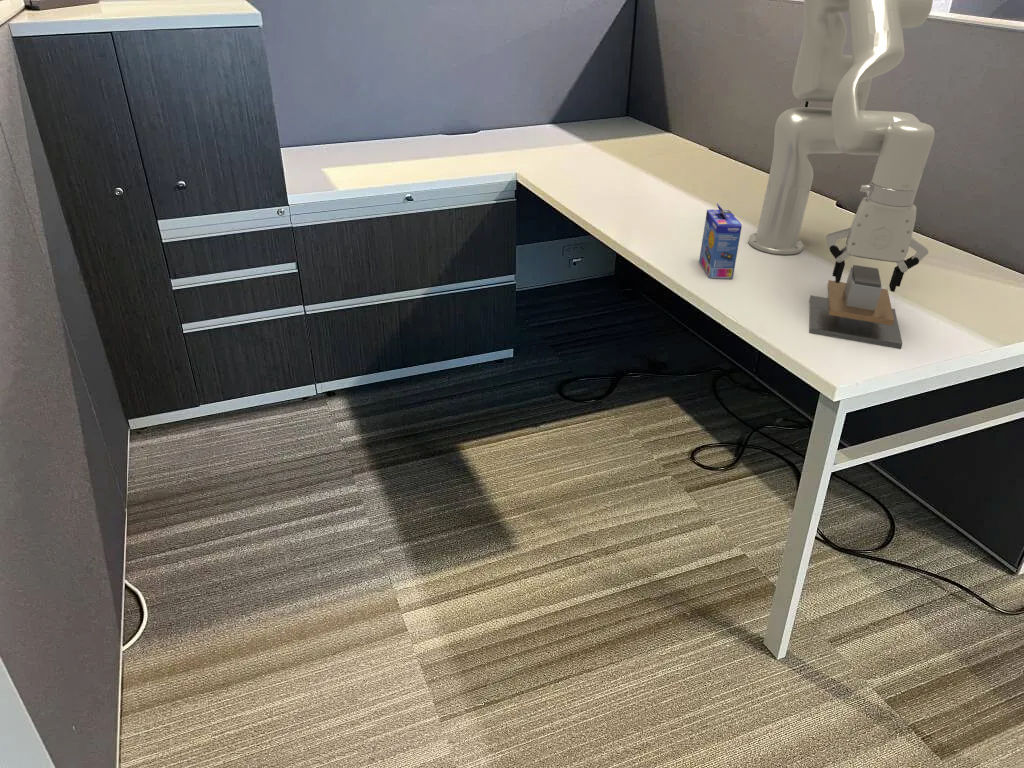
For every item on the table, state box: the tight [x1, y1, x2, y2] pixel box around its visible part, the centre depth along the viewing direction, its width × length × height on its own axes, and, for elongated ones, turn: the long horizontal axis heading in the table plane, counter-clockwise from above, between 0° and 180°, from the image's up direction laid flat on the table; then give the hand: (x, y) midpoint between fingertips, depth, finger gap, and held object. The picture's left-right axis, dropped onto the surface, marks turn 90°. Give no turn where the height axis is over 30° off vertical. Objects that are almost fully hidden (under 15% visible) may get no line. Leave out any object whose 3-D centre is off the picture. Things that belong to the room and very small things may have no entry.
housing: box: [845, 264, 883, 311], centre depth 144 cm, size 5×9×5 cm, turn 161°
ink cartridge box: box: [698, 203, 743, 280], centre depth 164 cm, size 10×6×14 cm, turn 2°
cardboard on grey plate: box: [808, 279, 903, 350], centre depth 146 cm, size 16×16×5 cm
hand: (864, 284), depth 143 cm, fingers open, 9 cm apart
